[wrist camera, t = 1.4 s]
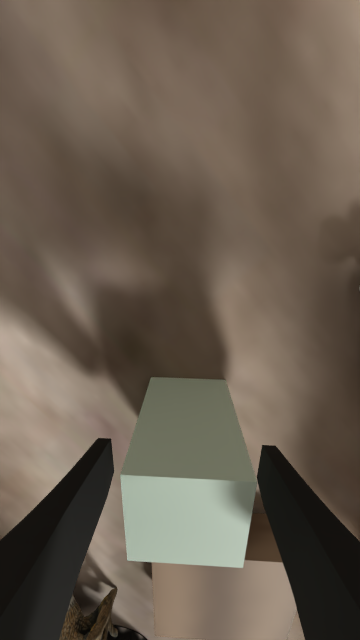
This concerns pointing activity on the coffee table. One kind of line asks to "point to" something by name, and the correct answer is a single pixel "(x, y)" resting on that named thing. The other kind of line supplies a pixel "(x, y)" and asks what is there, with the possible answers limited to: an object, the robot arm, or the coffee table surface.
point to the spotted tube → (125, 634)
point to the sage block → (187, 477)
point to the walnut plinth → (227, 595)
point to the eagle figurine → (89, 621)
